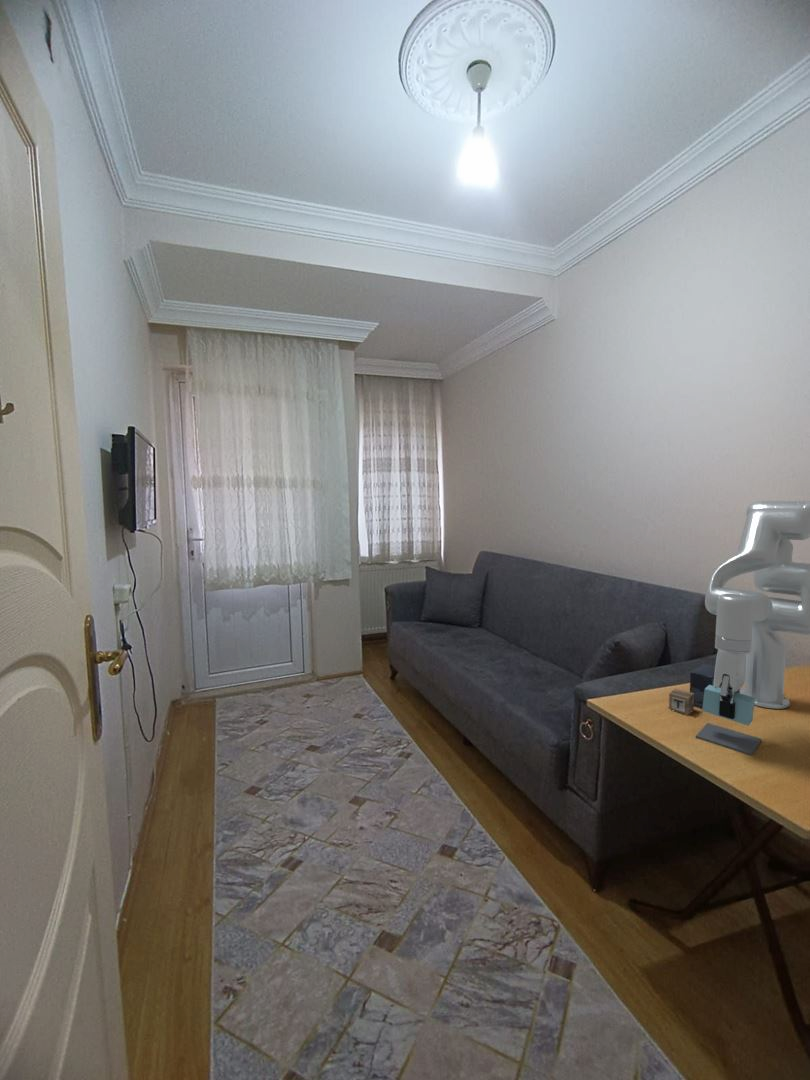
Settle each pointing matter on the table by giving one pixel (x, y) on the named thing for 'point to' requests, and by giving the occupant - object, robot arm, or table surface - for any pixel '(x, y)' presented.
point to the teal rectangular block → (742, 702)
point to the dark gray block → (729, 738)
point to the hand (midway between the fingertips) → (729, 713)
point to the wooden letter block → (681, 701)
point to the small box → (701, 682)
